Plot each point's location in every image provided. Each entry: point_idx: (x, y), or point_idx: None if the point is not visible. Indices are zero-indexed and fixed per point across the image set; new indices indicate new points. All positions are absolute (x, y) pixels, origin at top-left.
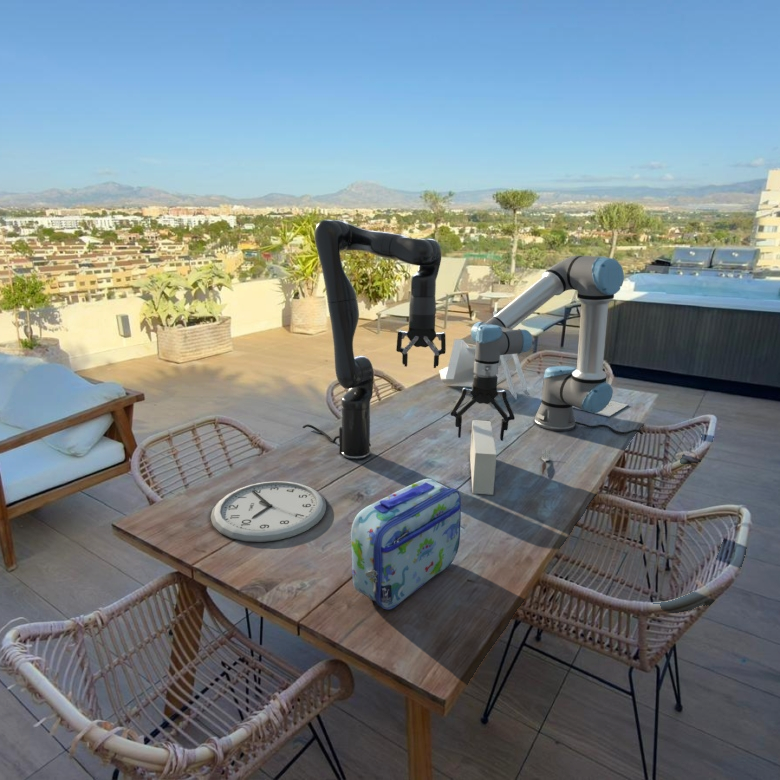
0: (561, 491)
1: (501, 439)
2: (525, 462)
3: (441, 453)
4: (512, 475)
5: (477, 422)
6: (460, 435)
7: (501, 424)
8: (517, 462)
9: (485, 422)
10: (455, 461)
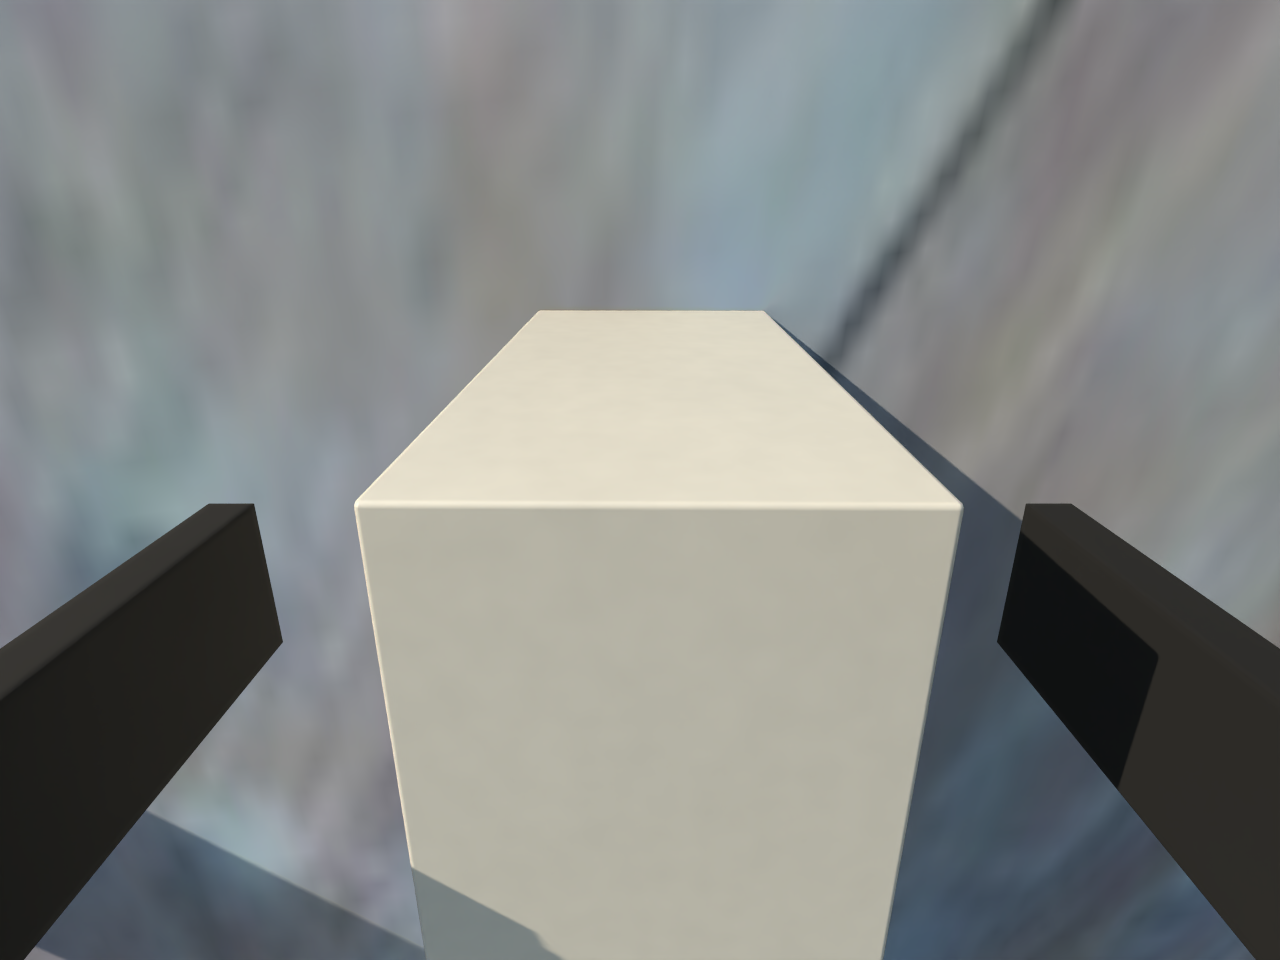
0: None
1: (1019, 653)
2: (1201, 416)
3: (172, 307)
4: (949, 720)
5: (525, 677)
6: (258, 665)
7: (1235, 728)
8: (1101, 430)
9: (773, 647)
10: None
